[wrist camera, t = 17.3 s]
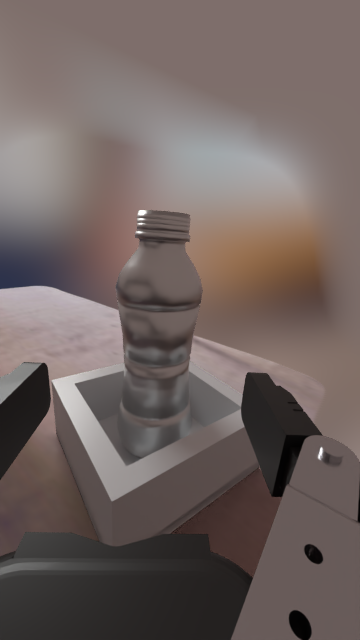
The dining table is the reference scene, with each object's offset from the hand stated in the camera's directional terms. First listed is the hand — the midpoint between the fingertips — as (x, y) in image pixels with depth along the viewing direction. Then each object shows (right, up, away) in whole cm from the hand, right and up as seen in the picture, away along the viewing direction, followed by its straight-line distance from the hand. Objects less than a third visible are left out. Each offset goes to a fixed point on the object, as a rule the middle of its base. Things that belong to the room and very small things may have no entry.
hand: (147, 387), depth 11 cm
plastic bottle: (-1, -9, +14) cm, 17 cm away
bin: (-1, -10, +14) cm, 17 cm away
